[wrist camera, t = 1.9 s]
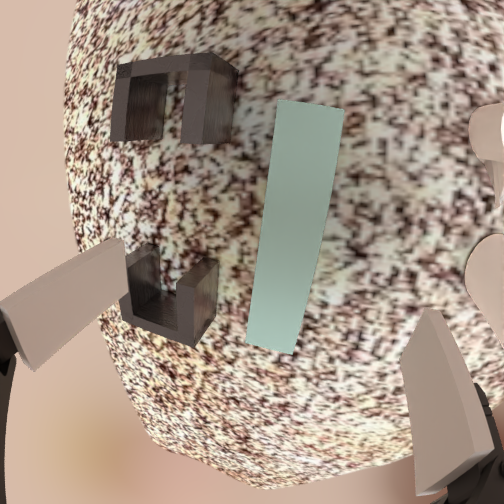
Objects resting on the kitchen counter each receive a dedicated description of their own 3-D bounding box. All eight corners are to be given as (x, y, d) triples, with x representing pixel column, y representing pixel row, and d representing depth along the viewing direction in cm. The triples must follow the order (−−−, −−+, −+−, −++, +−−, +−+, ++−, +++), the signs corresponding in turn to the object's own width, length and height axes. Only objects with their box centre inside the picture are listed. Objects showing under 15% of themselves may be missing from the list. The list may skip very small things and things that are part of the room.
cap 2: (215, 315, 27) (194, 347, 22) (149, 295, 28) (122, 320, 24) (219, 261, 24) (194, 288, 20) (146, 243, 26) (114, 263, 21)
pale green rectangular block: (292, 111, 18) (278, 99, 13) (340, 120, 18) (344, 109, 12) (264, 300, 25) (245, 342, 20) (302, 309, 24) (292, 354, 19)
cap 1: (154, 74, 19) (117, 65, 15) (238, 70, 18) (212, 52, 13) (148, 138, 22) (109, 141, 17) (229, 143, 20) (201, 144, 16)
